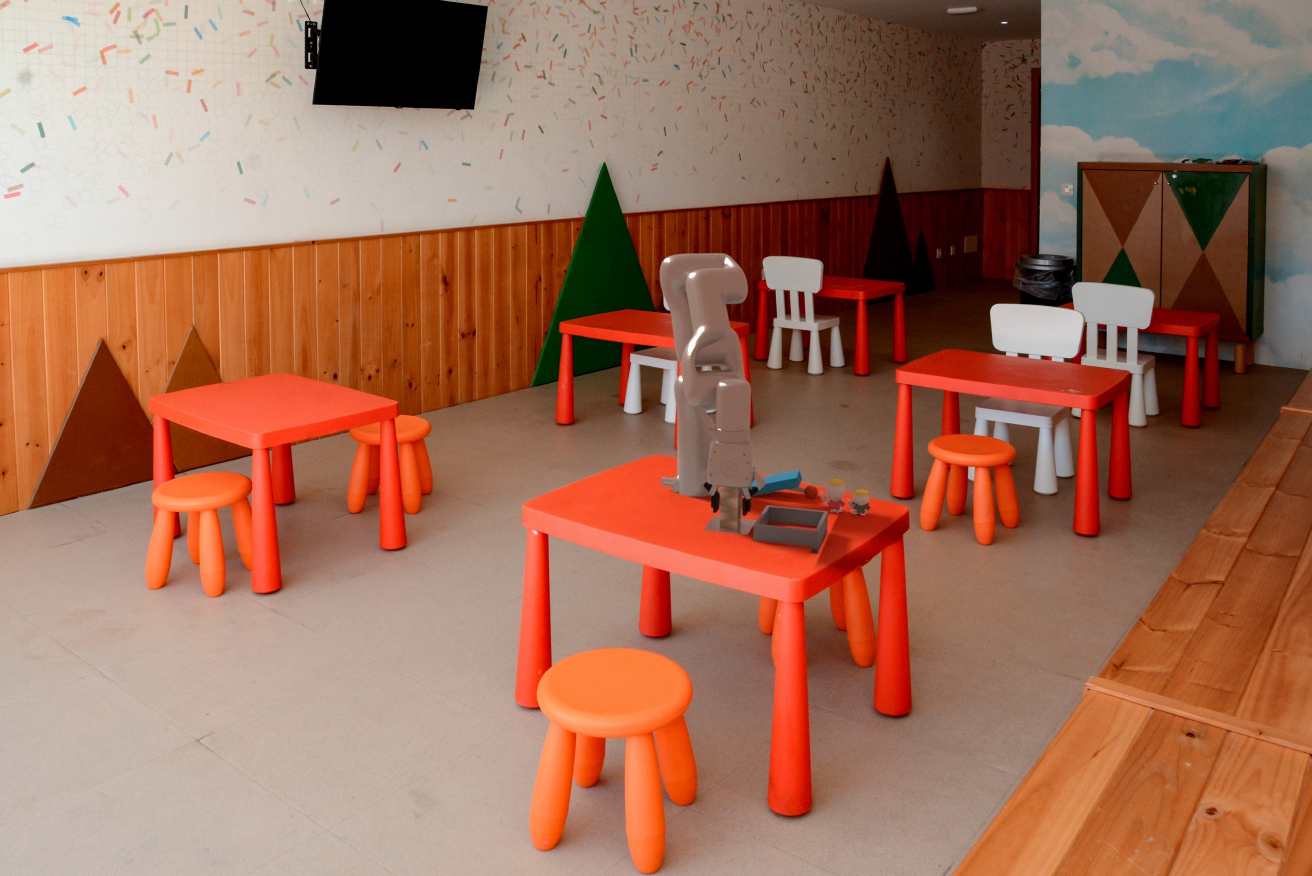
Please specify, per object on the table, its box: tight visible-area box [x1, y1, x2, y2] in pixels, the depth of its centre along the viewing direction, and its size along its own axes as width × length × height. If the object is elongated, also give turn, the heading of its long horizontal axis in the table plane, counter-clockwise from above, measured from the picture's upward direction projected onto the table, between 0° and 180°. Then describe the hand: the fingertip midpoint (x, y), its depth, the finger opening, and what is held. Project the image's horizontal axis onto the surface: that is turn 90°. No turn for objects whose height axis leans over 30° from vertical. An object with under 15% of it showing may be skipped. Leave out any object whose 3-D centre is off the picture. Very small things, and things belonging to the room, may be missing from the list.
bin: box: [752, 504, 829, 555], centre depth 234 cm, size 14×14×5 cm
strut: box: [719, 486, 743, 529], centre depth 238 cm, size 4×4×10 cm
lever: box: [742, 469, 819, 500], centre depth 265 cm, size 7×7×18 cm
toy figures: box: [819, 478, 871, 515], centre depth 251 cm, size 12×4×8 cm, turn 76°
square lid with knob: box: [703, 515, 757, 536], centre depth 239 cm, size 10×10×4 cm
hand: (730, 511), depth 239 cm, fingers open, 6 cm apart
